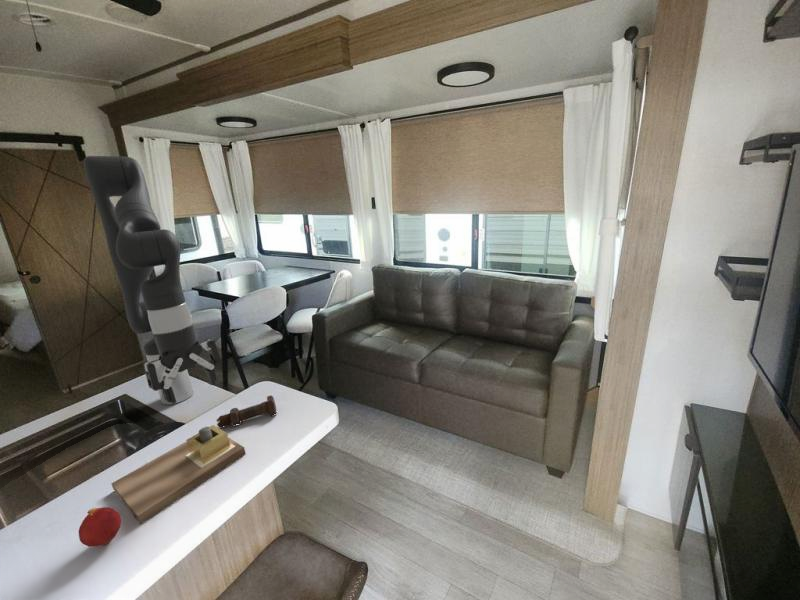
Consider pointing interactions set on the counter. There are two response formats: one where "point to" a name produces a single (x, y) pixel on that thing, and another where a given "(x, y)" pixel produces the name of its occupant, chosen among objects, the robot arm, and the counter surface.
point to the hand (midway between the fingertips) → (193, 392)
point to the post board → (171, 477)
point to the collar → (208, 445)
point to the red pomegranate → (99, 526)
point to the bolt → (247, 413)
